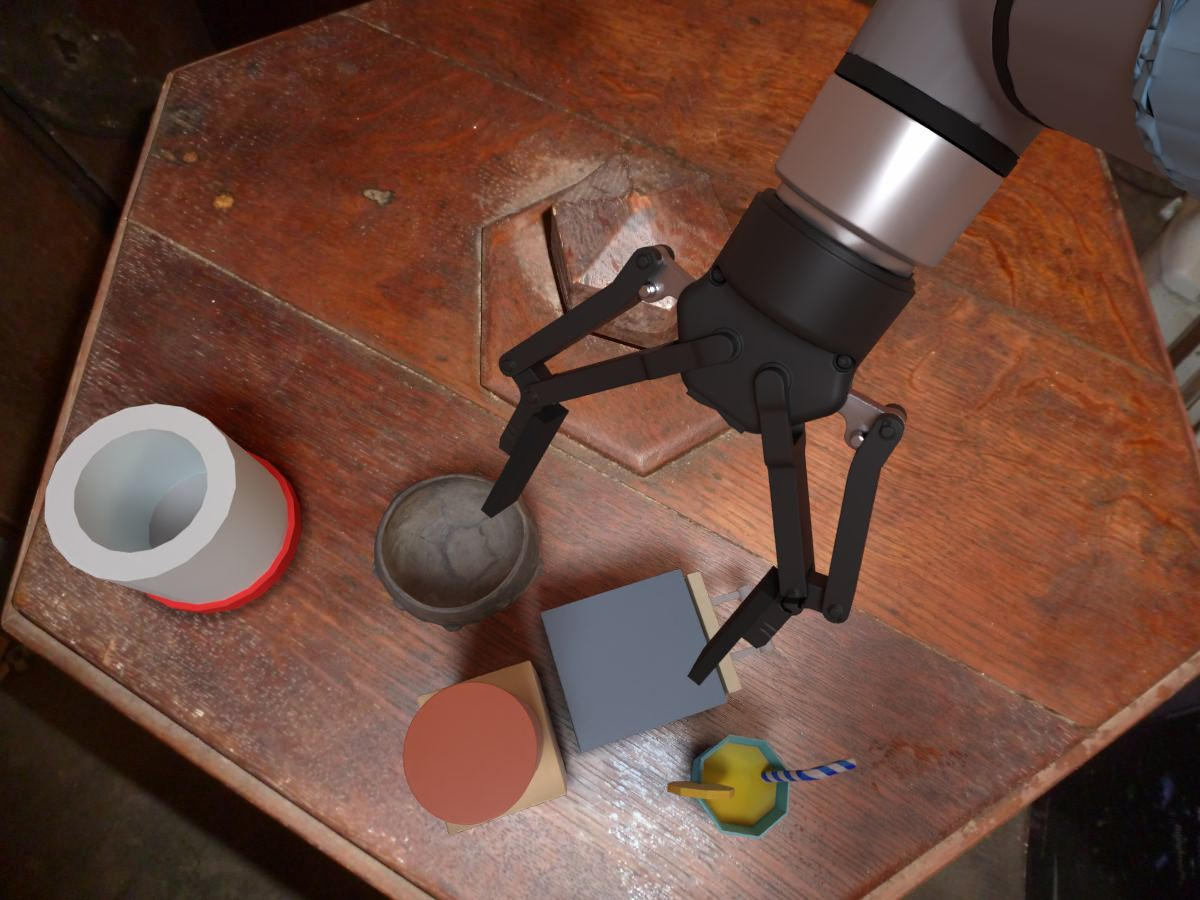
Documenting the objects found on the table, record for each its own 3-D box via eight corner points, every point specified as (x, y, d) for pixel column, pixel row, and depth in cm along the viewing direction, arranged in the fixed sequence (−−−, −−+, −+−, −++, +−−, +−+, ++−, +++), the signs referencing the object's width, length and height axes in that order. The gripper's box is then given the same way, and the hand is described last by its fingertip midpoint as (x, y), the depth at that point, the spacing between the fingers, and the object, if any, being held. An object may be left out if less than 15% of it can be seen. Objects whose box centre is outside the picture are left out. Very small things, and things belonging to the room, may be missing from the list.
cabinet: (666, 586, 76) (680, 567, 67) (707, 704, 72) (728, 702, 63) (543, 625, 74) (540, 612, 65) (579, 748, 71) (581, 753, 61)
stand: (566, 774, 70) (567, 794, 51) (480, 804, 69) (448, 836, 50) (538, 675, 72) (529, 659, 54) (455, 702, 71) (416, 696, 52)
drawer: (731, 570, 76) (749, 554, 68) (770, 676, 72) (794, 671, 65) (573, 621, 73) (574, 610, 66) (606, 732, 70) (611, 733, 63)
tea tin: (556, 779, 51) (554, 797, 40) (453, 817, 50) (421, 845, 39) (526, 675, 53) (516, 663, 42) (426, 709, 52) (388, 706, 41)
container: (147, 455, 78) (57, 398, 64) (309, 452, 79) (254, 395, 65) (120, 616, 73) (15, 591, 59) (293, 611, 73) (230, 586, 60)
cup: (787, 711, 72) (841, 708, 58) (813, 799, 70) (877, 818, 56) (643, 749, 71) (663, 756, 57) (665, 840, 68) (692, 871, 54)
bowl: (565, 592, 75) (565, 573, 66) (416, 663, 72) (393, 655, 63) (507, 468, 79) (499, 434, 70) (363, 531, 76) (335, 505, 67)
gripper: (1109, 390, 32) (805, 697, 42) (633, 80, 36) (459, 425, 46) (1147, 439, 25) (776, 790, 35) (560, 54, 30) (377, 463, 40)
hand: (596, 584), depth 41 cm, fingers open, 13 cm apart
